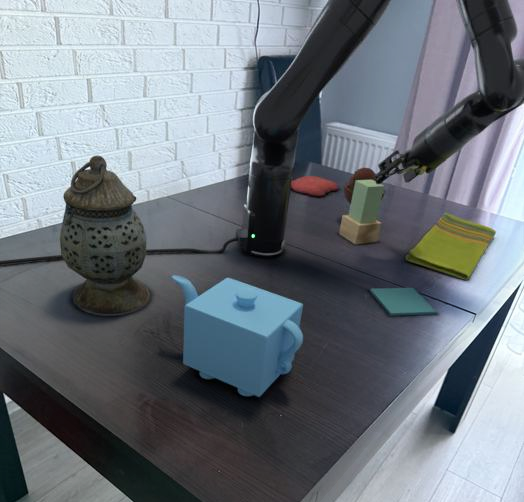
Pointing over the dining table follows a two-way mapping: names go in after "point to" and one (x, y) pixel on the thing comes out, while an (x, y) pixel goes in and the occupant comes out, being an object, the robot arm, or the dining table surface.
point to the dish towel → (452, 246)
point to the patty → (313, 186)
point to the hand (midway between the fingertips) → (390, 179)
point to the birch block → (359, 230)
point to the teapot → (240, 334)
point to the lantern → (103, 241)
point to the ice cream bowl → (358, 175)
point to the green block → (366, 201)
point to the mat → (402, 301)
